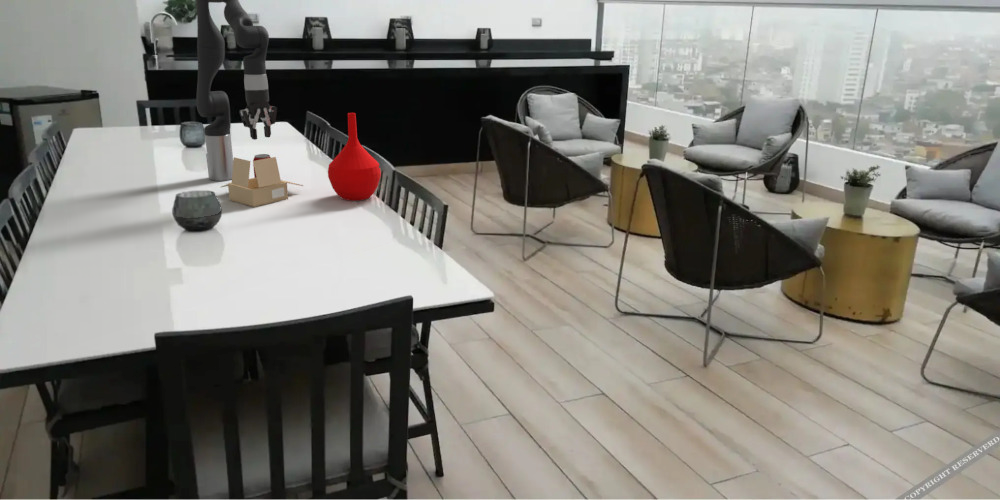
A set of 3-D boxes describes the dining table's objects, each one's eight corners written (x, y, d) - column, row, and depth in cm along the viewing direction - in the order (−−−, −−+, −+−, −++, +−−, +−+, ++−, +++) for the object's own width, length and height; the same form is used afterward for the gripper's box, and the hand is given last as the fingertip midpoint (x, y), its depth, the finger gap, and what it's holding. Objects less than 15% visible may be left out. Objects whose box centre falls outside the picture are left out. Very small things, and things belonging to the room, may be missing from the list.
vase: (390, 193, 268) (387, 111, 258) (365, 206, 252) (362, 119, 242) (346, 189, 274) (342, 108, 264) (319, 201, 257) (313, 115, 248)
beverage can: (268, 190, 270) (266, 158, 266) (252, 188, 271) (248, 156, 268) (277, 185, 276) (275, 154, 273) (261, 184, 278) (258, 153, 274)
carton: (214, 196, 261) (213, 179, 259) (268, 184, 278) (267, 168, 277) (254, 207, 248) (252, 190, 246) (308, 194, 266) (307, 178, 264)
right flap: (232, 183, 253) (231, 183, 252) (234, 157, 251) (233, 157, 251) (248, 187, 248) (247, 187, 247) (250, 161, 246) (249, 161, 246)
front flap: (252, 161, 246) (253, 161, 246) (275, 156, 253) (275, 156, 253) (258, 187, 248) (259, 187, 248) (280, 182, 255) (281, 182, 255)
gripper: (267, 85, 255) (271, 134, 260) (231, 88, 244) (236, 139, 250) (281, 86, 251) (285, 136, 256) (244, 90, 240) (249, 142, 245)
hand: (261, 137), depth 253 cm, fingers open, 4 cm apart
